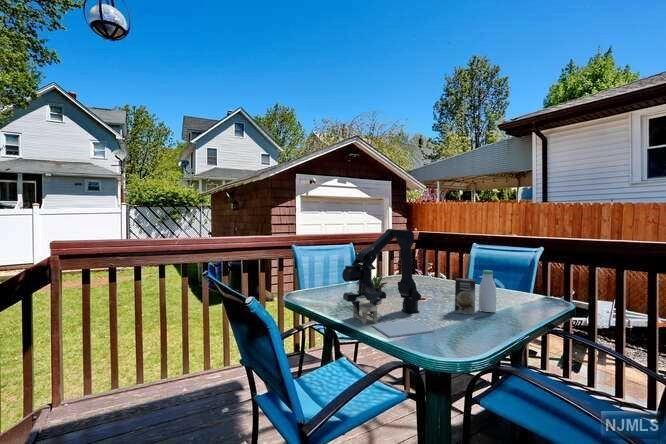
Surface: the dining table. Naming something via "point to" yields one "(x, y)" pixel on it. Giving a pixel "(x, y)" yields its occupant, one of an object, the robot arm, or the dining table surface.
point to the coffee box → (465, 296)
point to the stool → (365, 308)
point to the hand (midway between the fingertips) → (364, 315)
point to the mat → (402, 328)
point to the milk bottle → (487, 292)
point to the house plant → (378, 284)
